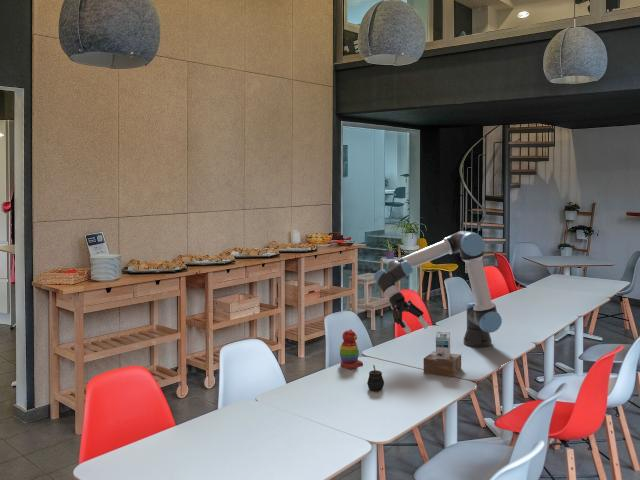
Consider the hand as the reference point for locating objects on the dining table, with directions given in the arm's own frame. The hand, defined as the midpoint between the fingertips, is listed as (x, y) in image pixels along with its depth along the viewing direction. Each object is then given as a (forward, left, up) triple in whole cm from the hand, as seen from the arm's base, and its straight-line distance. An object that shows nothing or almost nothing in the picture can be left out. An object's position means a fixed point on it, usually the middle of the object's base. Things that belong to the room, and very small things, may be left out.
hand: (418, 330), depth 300 cm
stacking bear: (+16, -30, -18) cm, 38 cm away
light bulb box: (+4, +14, -11) cm, 18 cm away
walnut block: (+5, +14, -17) cm, 23 cm away
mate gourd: (+42, -4, -18) cm, 46 cm away
